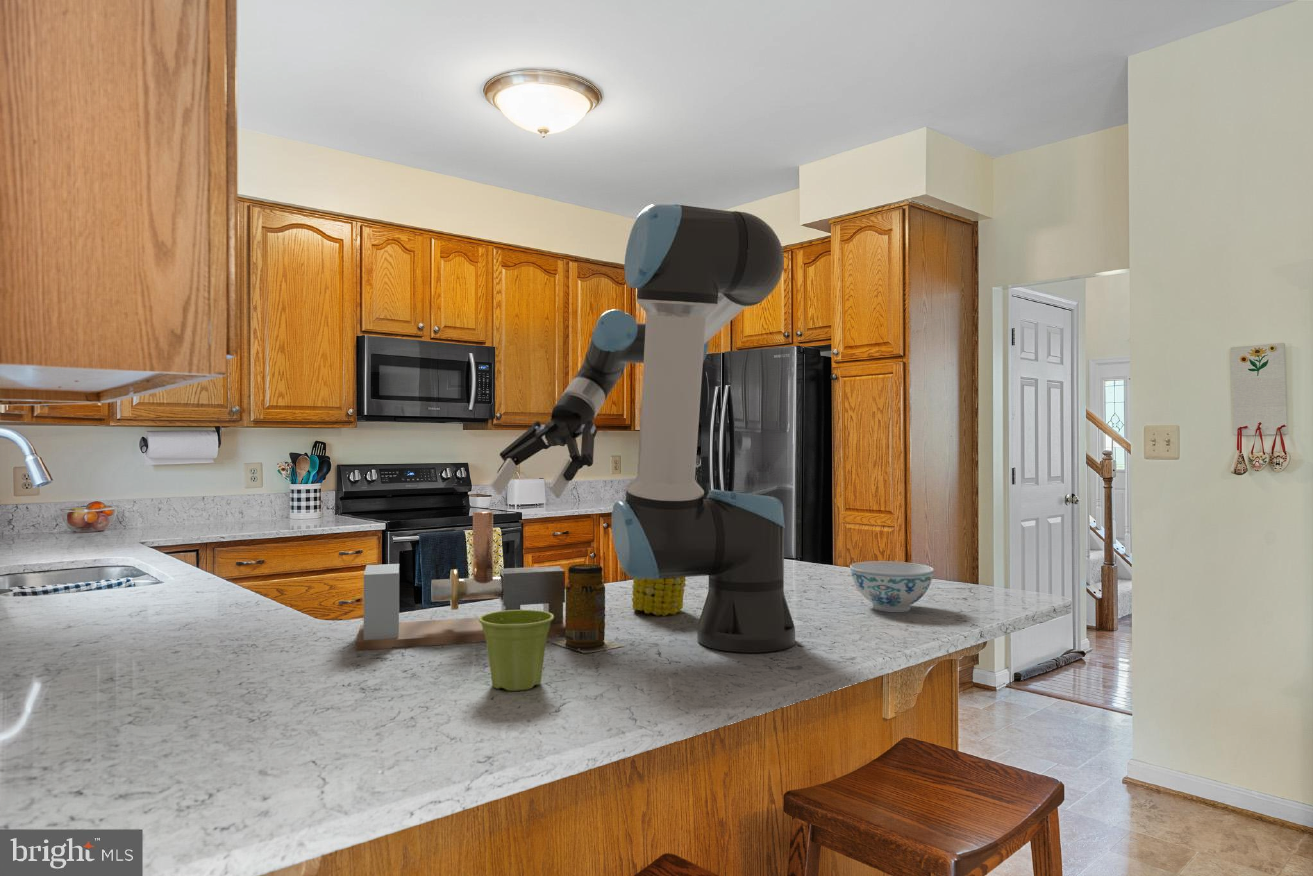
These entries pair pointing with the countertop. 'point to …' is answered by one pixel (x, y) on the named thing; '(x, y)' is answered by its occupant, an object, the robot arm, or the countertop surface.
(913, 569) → the chinaware
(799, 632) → the countertop surface
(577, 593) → the condiment
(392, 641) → the base board
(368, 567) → the socket block
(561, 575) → the grey concrete block
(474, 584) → the tube
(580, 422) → the robot arm
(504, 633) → the plant pot
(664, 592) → the food
